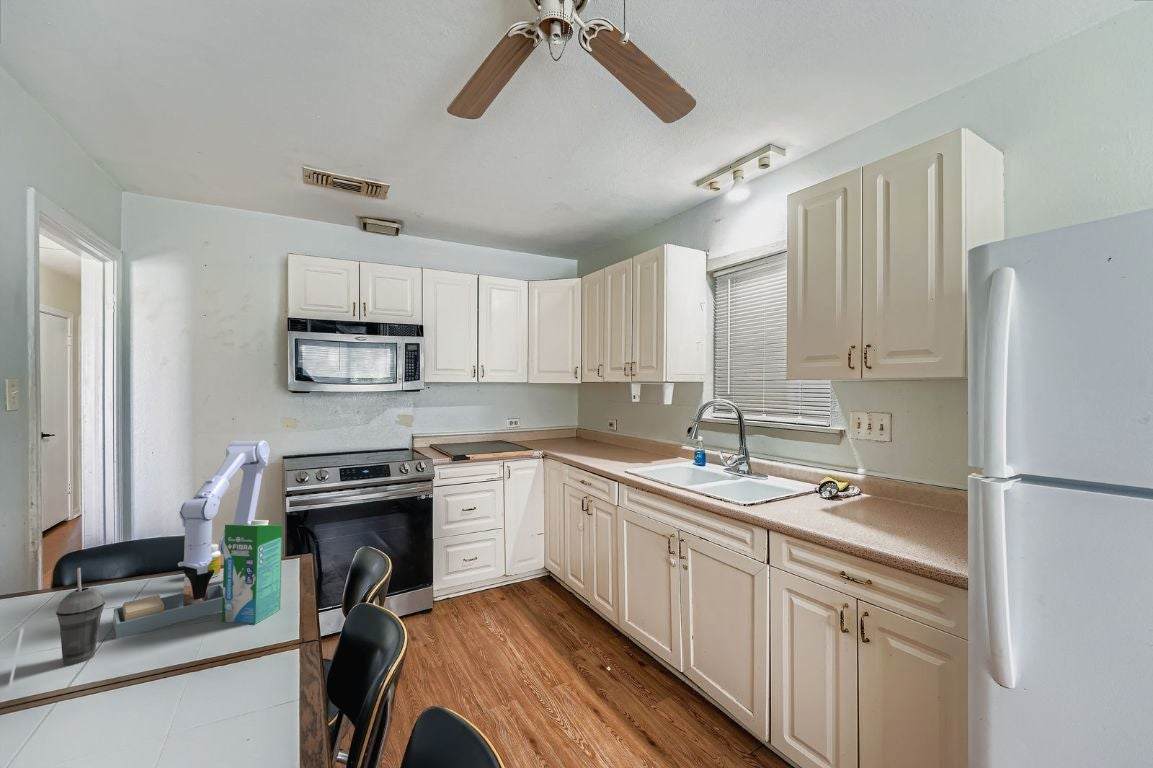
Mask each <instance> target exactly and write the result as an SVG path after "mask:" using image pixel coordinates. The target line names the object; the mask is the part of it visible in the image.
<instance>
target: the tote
mask: <svg viewBox="0 0 1153 768" xmlns="http://www.w3.org/2000/svg"><path fill="white" fill-rule="evenodd" d="M183 594H184V592H180V593H176V594H172V595H171V594H170V595H167V596H163V597H160V598H161V600H162V602H163V604H164V612H161V613H157V614H153V615H149V616H145V617H141V618H137V619H133V620H129V621H125V622H122V609H123V606H120V607H116V608H113V618H112V619H113V620H112V622H113V623H112V624H113V628H114V634H115V639H116V640H118V639H123V638H127V637H130V636H133V635H137V634H141V633H145V632H149V631H152V630H157V629H159V628H163V627H167V626H171V625H175V624H178V623H181V622H186V621H189V620H193V619H197V618H200V617H201V618H202V617H205V616H208V615H209V616H210V615H212V614H216V613H219V612H222V602H223V585H222V583H219V584H214V585H211V586H208V601H205V602H201V603H197V604H193V605H189V606H185V607H183Z"/></svg>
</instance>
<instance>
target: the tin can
mask: <svg viewBox="0 0 1153 768" xmlns="http://www.w3.org/2000/svg"><path fill="white" fill-rule="evenodd" d="M183 581H184V582H183V593H184V594H183V607H185V606H189V605H193V604H197V603H201V602H205V601H208V587H209V586H208V587H207V591H206V594H205V597H204V598H201V599H197V600H194V597H193V593H192V586H191V583H190V580H189V579H188V577H187V576H184V577H183Z"/></svg>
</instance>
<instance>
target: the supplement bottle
mask: <svg viewBox="0 0 1153 768" xmlns="http://www.w3.org/2000/svg"><path fill="white" fill-rule="evenodd" d="M211 557H212V561H211V562H210V563H209V565H208V570H212V569H214V571H215V572H214V574H213V576H212V577H211V579H213V577H214V578H216V576H217V577H218V576H220V575H219V574H221V561H222V560H221V558H222V554H221V553H220V551H219V543H218V544H216V543H212V549H211Z"/></svg>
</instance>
